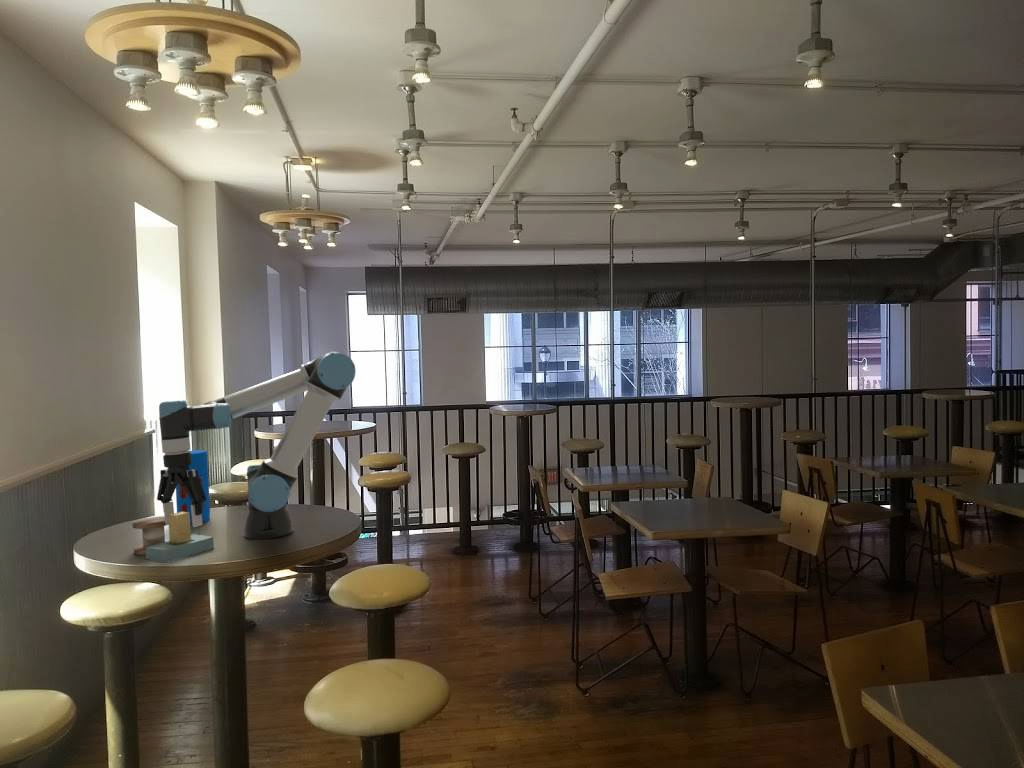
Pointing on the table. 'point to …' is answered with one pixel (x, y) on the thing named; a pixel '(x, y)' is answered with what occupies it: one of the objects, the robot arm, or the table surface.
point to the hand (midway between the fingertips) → (183, 525)
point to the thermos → (202, 467)
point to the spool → (150, 532)
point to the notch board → (179, 549)
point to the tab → (179, 528)
